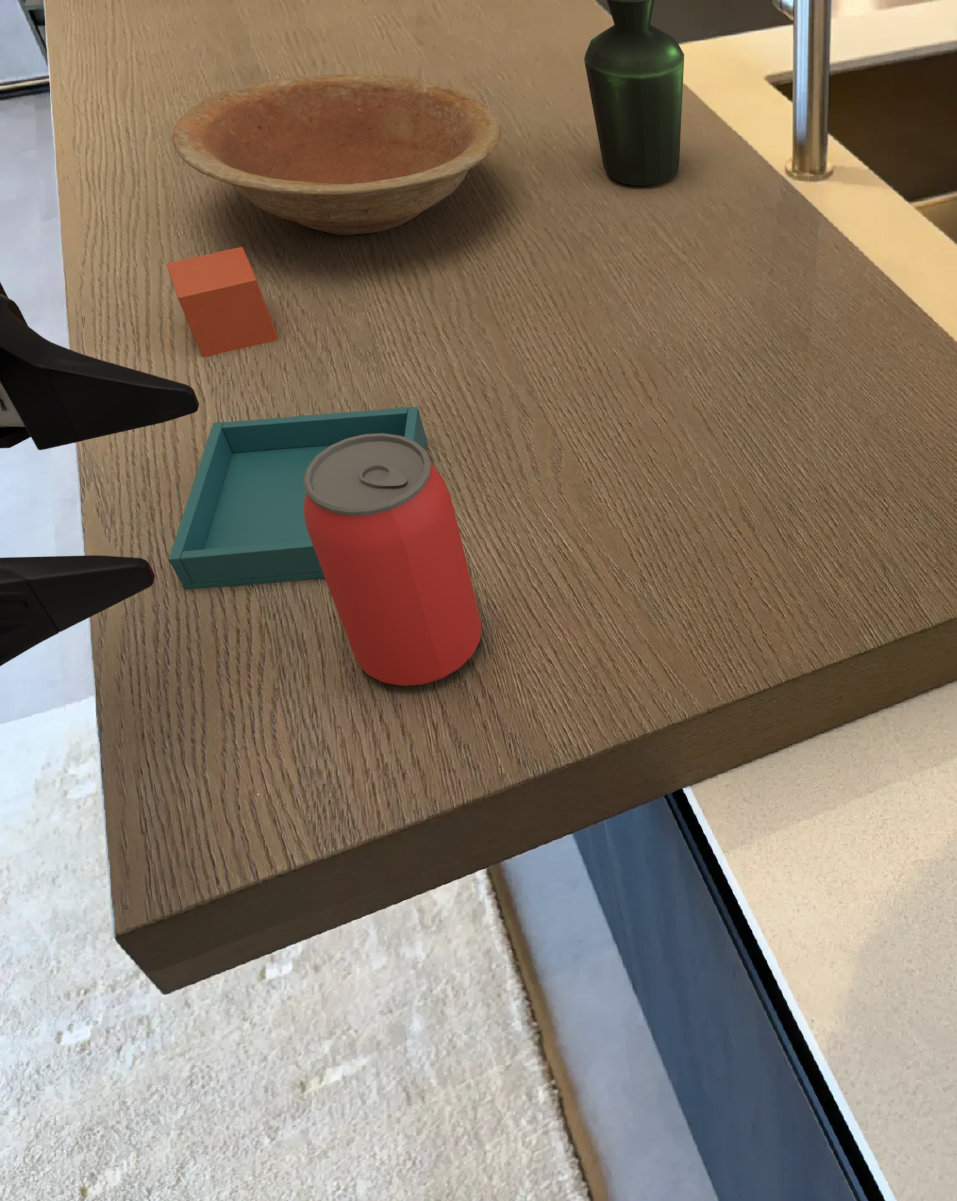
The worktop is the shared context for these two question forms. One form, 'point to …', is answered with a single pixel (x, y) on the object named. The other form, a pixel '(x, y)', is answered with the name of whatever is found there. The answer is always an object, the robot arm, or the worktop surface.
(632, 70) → the potion bottle
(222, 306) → the terracotta block
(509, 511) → the worktop surface
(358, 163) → the bowl
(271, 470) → the tray
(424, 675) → the beer can
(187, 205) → the worktop surface
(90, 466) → the worktop surface
